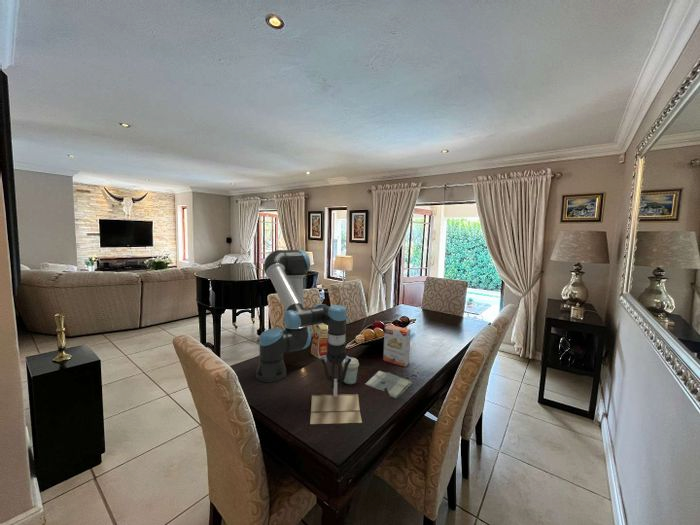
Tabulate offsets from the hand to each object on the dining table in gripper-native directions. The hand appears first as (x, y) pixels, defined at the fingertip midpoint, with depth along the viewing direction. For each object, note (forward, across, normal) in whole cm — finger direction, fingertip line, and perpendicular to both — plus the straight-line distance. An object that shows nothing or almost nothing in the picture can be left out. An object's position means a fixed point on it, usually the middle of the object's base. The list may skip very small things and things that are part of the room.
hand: (335, 394), depth 125 cm
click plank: (+3, 0, -2) cm, 4 cm away
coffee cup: (+5, +8, +18) cm, 20 cm away
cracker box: (+6, +37, +40) cm, 55 cm away
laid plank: (+5, 0, -10) cm, 11 cm away
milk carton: (+6, -7, +54) cm, 54 cm away
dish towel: (+6, +27, +15) cm, 32 cm away
